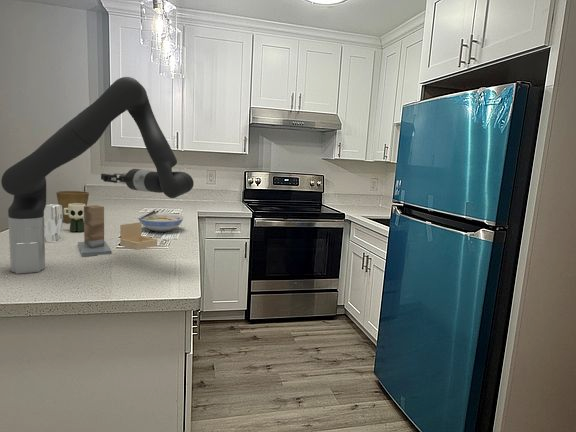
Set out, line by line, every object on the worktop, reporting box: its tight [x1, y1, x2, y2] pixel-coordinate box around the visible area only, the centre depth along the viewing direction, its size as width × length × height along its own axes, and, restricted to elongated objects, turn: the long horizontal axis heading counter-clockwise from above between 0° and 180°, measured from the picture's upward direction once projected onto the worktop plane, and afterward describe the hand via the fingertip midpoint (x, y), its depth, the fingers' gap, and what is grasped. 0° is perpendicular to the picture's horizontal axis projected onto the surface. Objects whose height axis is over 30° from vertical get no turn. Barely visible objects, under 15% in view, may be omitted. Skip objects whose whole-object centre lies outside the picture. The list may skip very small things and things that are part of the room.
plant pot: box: [55, 190, 90, 224], centre depth 196 cm, size 15×15×16 cm
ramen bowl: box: [137, 210, 185, 233], centre depth 191 cm, size 25×23×8 cm
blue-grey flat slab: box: [77, 240, 113, 258], centre depth 147 cm, size 18×10×2 cm, turn 33°
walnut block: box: [83, 204, 105, 249], centre depth 146 cm, size 5×5×16 cm
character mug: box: [64, 203, 86, 232], centre depth 176 cm, size 11×7×13 cm, turn 115°
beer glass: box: [44, 203, 64, 243], centre depth 157 cm, size 7×7×15 cm
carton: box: [119, 221, 158, 251], centre depth 156 cm, size 13×16×9 cm
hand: (112, 176), depth 138 cm, fingers open, 8 cm apart
